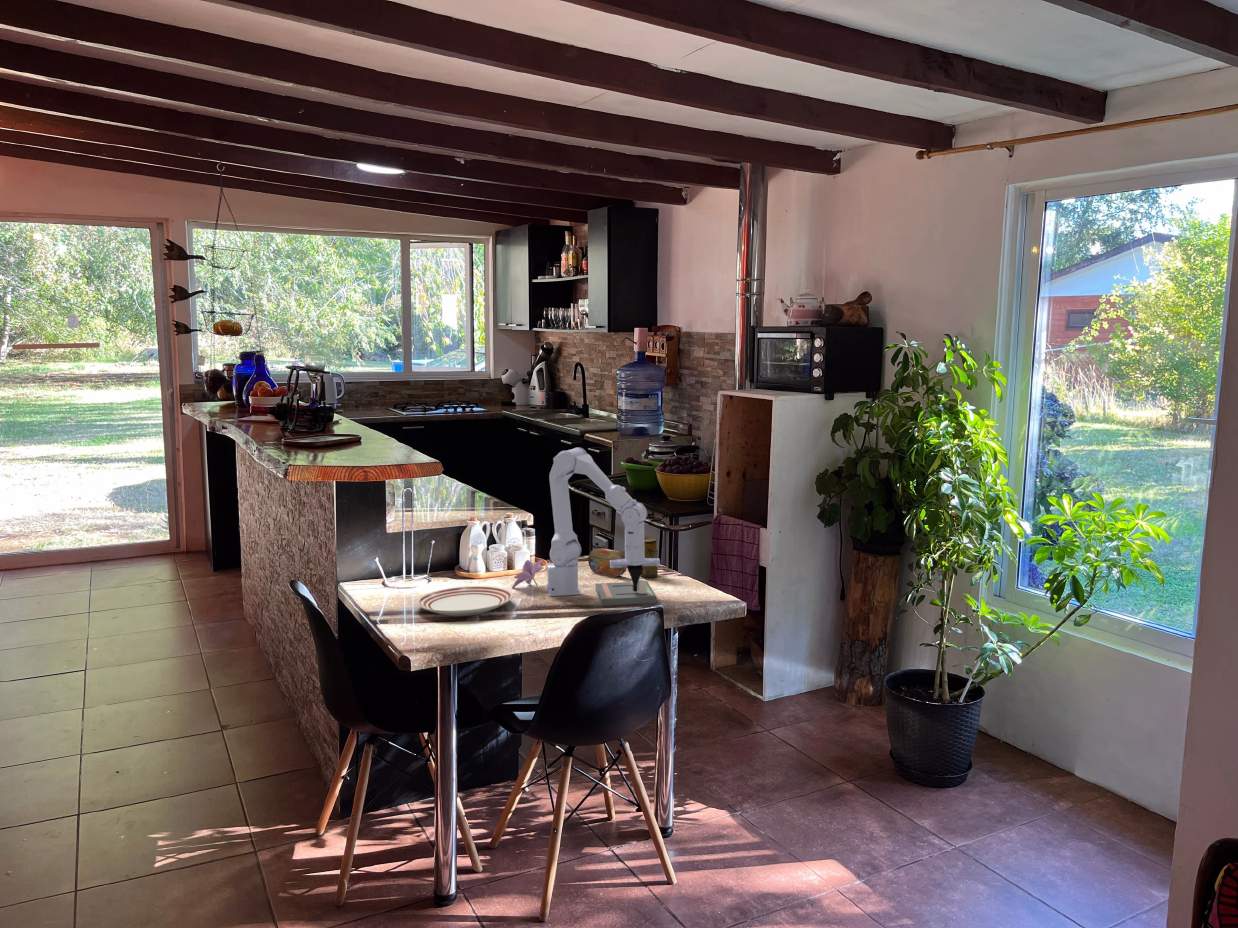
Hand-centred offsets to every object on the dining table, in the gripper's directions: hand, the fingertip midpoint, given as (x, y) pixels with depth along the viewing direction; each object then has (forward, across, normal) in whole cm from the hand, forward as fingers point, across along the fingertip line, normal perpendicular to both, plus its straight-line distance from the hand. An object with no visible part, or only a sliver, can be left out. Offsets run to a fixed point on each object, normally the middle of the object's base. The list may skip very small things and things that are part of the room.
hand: (635, 590), depth 271 cm
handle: (+1, +2, +9) cm, 9 cm away
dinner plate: (+3, -49, +2) cm, 49 cm away
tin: (+3, -4, +31) cm, 31 cm away
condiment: (+3, +9, +26) cm, 28 cm away
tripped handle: (+1, +2, 0) cm, 2 cm away
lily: (+3, -30, +19) cm, 36 cm away
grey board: (+3, -2, +4) cm, 6 cm away
